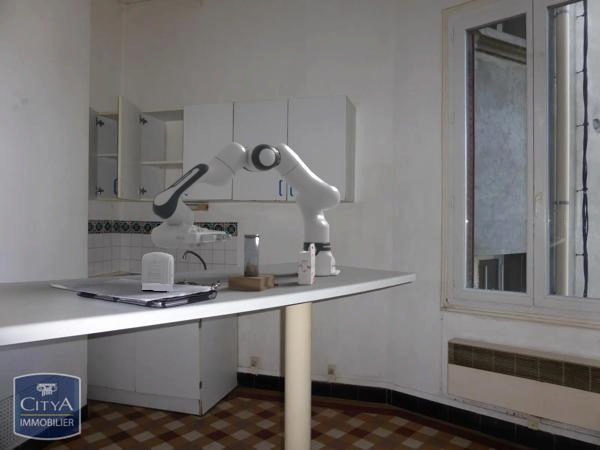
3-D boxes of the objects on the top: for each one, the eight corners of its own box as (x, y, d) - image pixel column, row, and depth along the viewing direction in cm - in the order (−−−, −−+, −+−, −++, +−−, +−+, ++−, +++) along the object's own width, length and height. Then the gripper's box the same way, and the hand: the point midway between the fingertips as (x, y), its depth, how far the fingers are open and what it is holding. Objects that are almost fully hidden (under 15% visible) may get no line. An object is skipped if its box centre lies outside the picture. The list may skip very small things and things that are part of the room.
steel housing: (248, 275, 149) (248, 234, 149) (261, 275, 147) (262, 234, 147) (240, 276, 144) (241, 234, 144) (254, 277, 142) (254, 234, 142)
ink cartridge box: (302, 281, 164) (302, 243, 164) (315, 282, 163) (315, 243, 164) (297, 284, 156) (298, 243, 156) (311, 285, 155) (311, 244, 155)
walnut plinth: (243, 285, 152) (243, 273, 152) (273, 287, 148) (273, 275, 148) (228, 288, 143) (228, 276, 143) (260, 291, 138) (260, 278, 138)
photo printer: (175, 290, 137) (176, 252, 137) (168, 292, 133) (169, 252, 133) (146, 289, 139) (146, 251, 139) (138, 291, 135) (139, 252, 135)
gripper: (172, 228, 147) (206, 228, 142) (206, 228, 166) (237, 228, 161) (172, 247, 147) (206, 248, 142) (206, 244, 166) (237, 245, 161)
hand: (223, 237), depth 152 cm, fingers open, 8 cm apart
